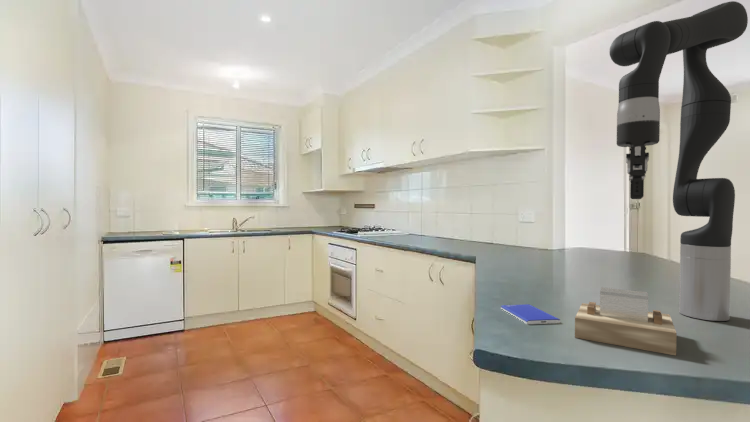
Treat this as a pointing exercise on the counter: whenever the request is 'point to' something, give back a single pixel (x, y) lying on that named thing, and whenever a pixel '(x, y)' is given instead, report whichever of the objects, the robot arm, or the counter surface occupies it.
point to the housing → (624, 304)
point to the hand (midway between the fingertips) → (636, 198)
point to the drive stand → (627, 330)
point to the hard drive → (530, 314)
